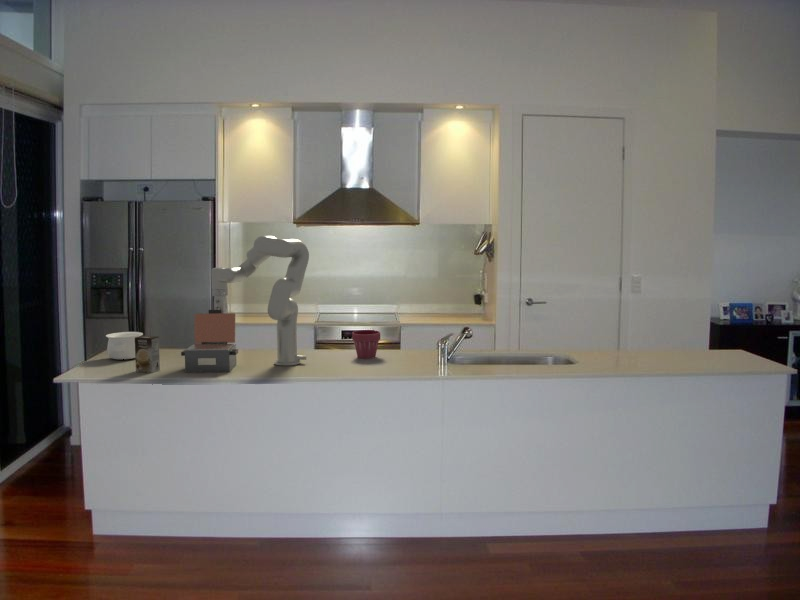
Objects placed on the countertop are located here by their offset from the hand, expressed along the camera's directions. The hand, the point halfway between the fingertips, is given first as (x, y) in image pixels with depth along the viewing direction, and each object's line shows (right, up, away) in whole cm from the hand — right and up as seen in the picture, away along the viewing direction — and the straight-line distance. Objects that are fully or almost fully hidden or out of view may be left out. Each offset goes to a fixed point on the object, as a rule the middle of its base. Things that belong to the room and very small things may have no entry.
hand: (221, 329), depth 347 cm
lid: (+1, +2, -14) cm, 15 cm away
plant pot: (+72, -15, +5) cm, 74 cm away
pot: (-50, -15, +5) cm, 52 cm away
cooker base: (+1, -18, -21) cm, 28 cm away
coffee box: (-27, -18, -26) cm, 42 cm away
